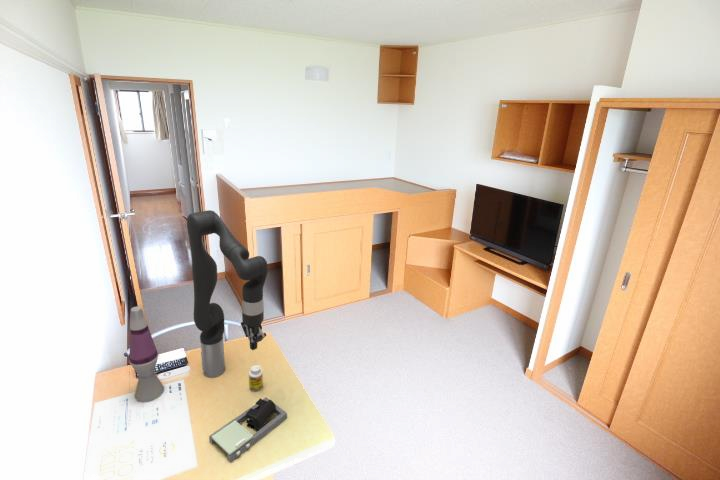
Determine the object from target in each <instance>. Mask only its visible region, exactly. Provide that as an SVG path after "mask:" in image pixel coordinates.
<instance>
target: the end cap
mask: <svg viewBox="0 0 720 480" xmlns="http://www.w3.org/2000/svg"><path fill="white" fill-rule="evenodd" d="M263 399H264V398H259V399H258V400H257V401H256V402H255V404H257V405H259V406H260V408H259V409H257V410H254V409H252V408H251V407H250V408H251V409H250V410H249V411H248V412H247V413H246V418H248V419H246V420H245V423H246V426H247V427H248V428H250V429H252V430H255V431H259V430H260V429H261V428H263V427H264V426H265V425H266V424H265V423H266V422H268V420H269V419H270V418H271V417H272V415H273V414H275V413H274V412H275V410H276V406H275V404H276V403H275V402H274V401H272V400H271V399H269V398H268V399H269V400H268V401H265V400H263ZM274 403H275V404H274Z"/></svg>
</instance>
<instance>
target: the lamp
mask: <svg viewBox="0 0 720 480" xmlns="http://www.w3.org/2000/svg"><path fill="white" fill-rule="evenodd" d="M129 318H130V319H129V330H130V331H129V332H130V333H129V360H128V363H129V364H130V366H131V367H132V369H133V370H134V371H135V372H136V374H137V375H138V376H139V377H138V380H137V383H136V384H137V385H136V389H135V392H134V399H135V400H136V401H137V402H141V403H146V402H152V401H154V400H156V399H159V397H161V395H162V394H163V393H164V391H165V386H164V385H163V383H162V382H161V380H160V379H159V377H158V376H157V374H156V373H155V370H156V369H155V368H156V366H157V362H158V357H159V352H158V349H157V347H156V345H155V342H154V339H153V336H152V333H151V331H150V329H149V325H148V322H147V319H146V316H145V314H144V311H143V309H142V307H141V306H138V305H137V306H133V307H131V309H130V317H129Z"/></svg>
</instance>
